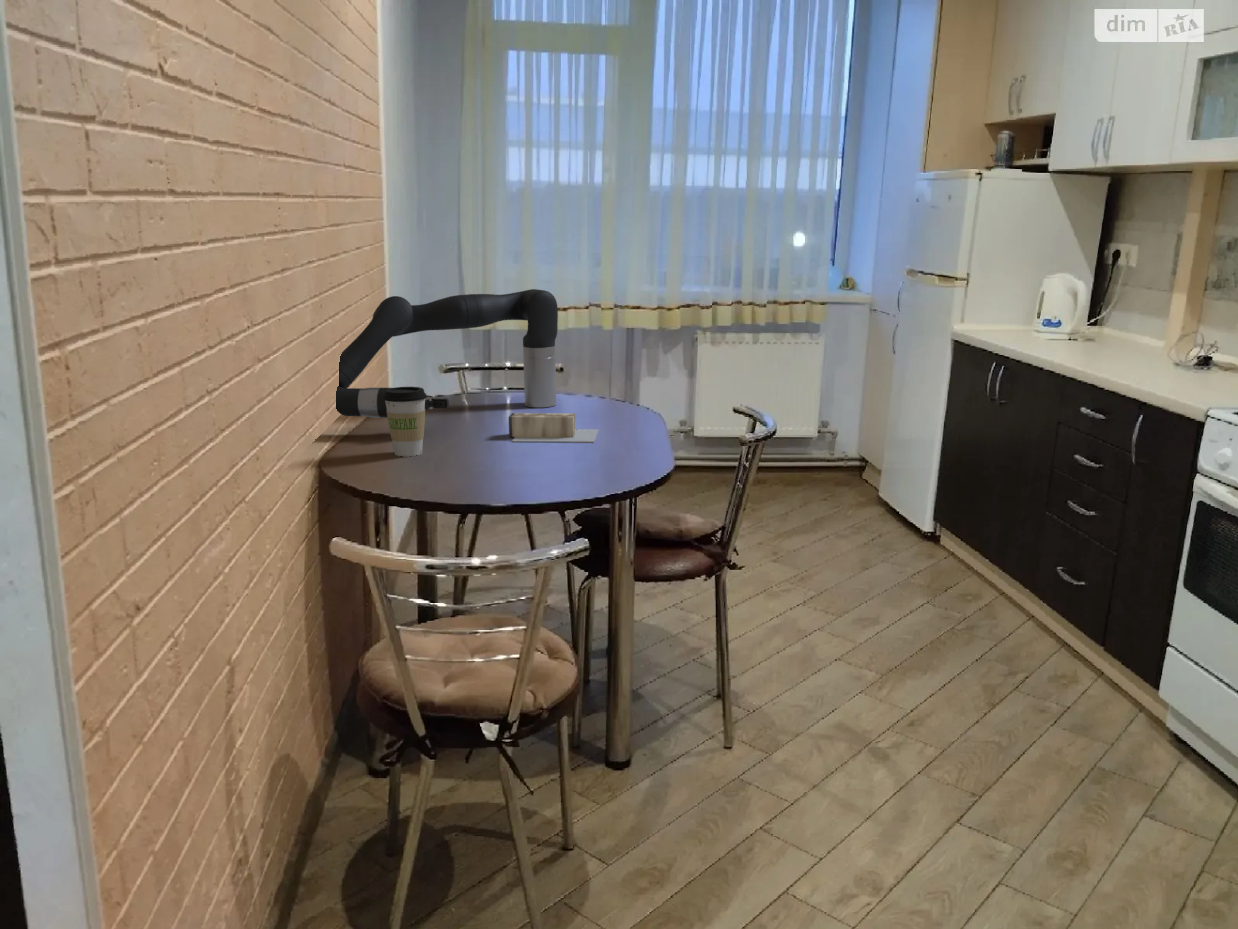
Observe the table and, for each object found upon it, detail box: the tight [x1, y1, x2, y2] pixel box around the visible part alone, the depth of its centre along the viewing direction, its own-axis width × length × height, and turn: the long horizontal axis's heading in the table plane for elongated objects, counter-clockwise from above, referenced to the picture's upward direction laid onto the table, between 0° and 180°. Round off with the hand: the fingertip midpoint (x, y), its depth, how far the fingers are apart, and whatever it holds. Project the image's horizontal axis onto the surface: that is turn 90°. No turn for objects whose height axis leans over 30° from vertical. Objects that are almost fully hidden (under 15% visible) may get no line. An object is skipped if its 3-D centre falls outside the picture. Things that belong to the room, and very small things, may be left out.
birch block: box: [508, 412, 577, 438], centre depth 243 cm, size 5×5×16 cm
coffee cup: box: [383, 386, 427, 458], centre depth 224 cm, size 10×10×15 cm
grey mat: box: [511, 428, 600, 444], centre depth 243 cm, size 14×20×1 cm
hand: (448, 403), depth 243 cm, fingers closed
